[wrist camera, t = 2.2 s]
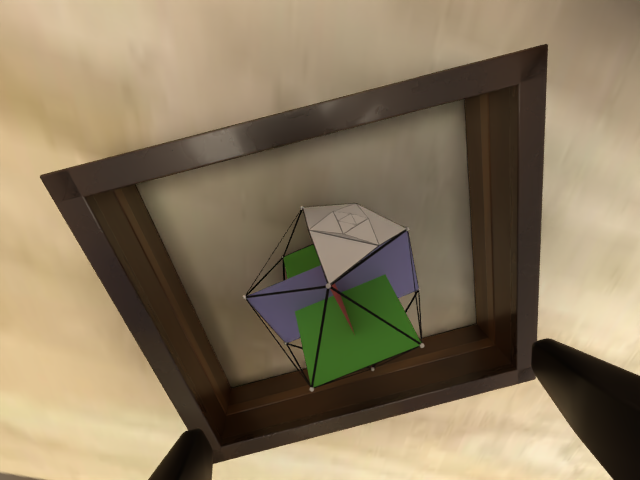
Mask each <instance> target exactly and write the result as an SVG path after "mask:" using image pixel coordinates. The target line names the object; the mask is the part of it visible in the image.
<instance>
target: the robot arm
mask: <svg viewBox="0 0 640 480" xmlns="http://www.w3.org/2000/svg"><path fill="white" fill-rule="evenodd" d="M531 366H532V370H533V372H534V374H535V375H536V377H537V378H538V380H539V381H540V383H541V384H542V386H543V387H544V389H545V390H546V391H547V393H548V394H549V396H550V397H551V399H552V400H553V402H554V403H555V405H556V406H557V408H558V409H559V410H560V412H561V413H562V415H563V416H564V418H565V419H566V421H567V422H568V423H569V425H570V426H571V428H572V429H573V430H574V432H575V433H576V434H577V436H578V437H579V438H580V439H581V441H582V442H583V443H584V444H585V446H586V447H587V448H588V449H589V450H590V452H591V453H592V454H593V455H594V456H595V458H596V459H597V460H598V461H599V463H600V464H601V465H602V466H603V467H604V469H605V470H606V471H607V472H608V473H609V475H610V476H611V477H612V478H613V480H640V376H639V375H636V374H634V373H632V372H629V371H627V370H624V369H622V368H620V367H617V366H615V365H612V364H610V363H608V362H605V361H603V360H600V359H598V358H596V357H593V356H591V355H588V354H586V353H584V352H581V351H579V350H577V349H574V348H572V347H569V346H567V345H565V344H562V343H560V342H557V341H555V340H552V339H543V340H539V341H535V342H534V343H533V344H532V356H531ZM212 467H213V450H212V447H211V445H210V443H209V441H208V439H207V438H206V436H205V434H204V432H203V431H202V429H200V428H196V429H192V430H188V431H185V432H184V433H183V434H182V435H181V436H180V438H179V439H178V440H177V442H176V443H175V444H174V446H173V447H172V448H171V450H170V451H169V452H168V454H167V455H166V456H165V458H164V459H163V460H162V462H161V463H160V464H159V466H158V467H157V469H156V470H155V471H154V473H153V474H152V475H151V477H150V478H149V479H148V480H212Z"/></svg>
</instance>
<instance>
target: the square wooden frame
mask: <svg viewBox="0 0 640 480" xmlns="http://www.w3.org/2000/svg"><path fill="white" fill-rule="evenodd" d="M547 56H548V44H544V45H540V46H536V47H532V48H528V49H524V50H520V51H517V52H513V53H509V54H505V55H501V56H497V57H493V58H490V59H486V60H482V61H478V62H474V63H470V64H467V65H463V66H459V67H455V68H451V69H447V70H443V71H440V72H436V73H432V74H428V75H424V76H420V77H416V78H413V79H409V80H405V81H401V82H397V83H393V84H389V85H386V86H382V87H378V88H374V89H370V90H366V91H363V92H359V93H355V94H351V95H347V96H343V97H339V98H336V99H332V100H328V101H324V102H320V103H316V104H312V105H309V106H305V107H301V108H297V109H293V110H289V111H285V112H282V113H278V114H274V115H270V116H266V117H262V118H259V119H255V120H251V121H247V122H243V123H239V124H235V125H232V126H228V127H224V128H220V129H216V130H212V131H208V132H205V133H201V134H197V135H193V136H189V137H185V138H181V139H178V140H174V141H170V142H166V143H162V144H158V145H155V146H151V147H147V148H143V149H139V150H135V151H131V152H128V153H124V154H120V155H116V156H112V157H108V158H104V159H101V160H97V161H93V162H89V163H85V164H81V165H77V166H74V167H70V168H66V169H62V170H58V171H54V172H51V173H47V174H43V175H41V176H40V178H41V180H42V182H43V183H44V185H45V187H46V188H47V190H48V192H49V194H50V195H51V197H52V199H53V200H54V202H55V204H56V205H57V207H58V209H59V211H60V212H61V214H62V216H63V217H64V219H65V221H66V223H67V224H68V226H69V228H70V229H71V231H72V233H73V234H74V236H75V238H76V240H77V241H78V243H79V245H80V246H81V248H82V250H83V251H84V253H85V255H86V257H87V258H88V260H89V262H90V263H91V265H92V267H93V269H94V270H95V272H96V274H97V275H98V277H99V279H100V280H101V282H102V284H103V286H104V287H105V289H106V291H107V292H108V294H109V296H110V297H111V299H112V301H113V303H114V304H115V306H116V308H117V309H118V311H119V313H120V315H121V316H122V318H123V320H124V321H125V323H126V325H127V326H128V328H129V330H130V332H131V333H132V335H133V337H134V338H135V340H136V342H137V344H138V345H139V347H140V349H141V350H142V352H143V354H144V355H145V357H146V359H147V361H148V362H149V364H150V366H151V367H152V369H153V371H154V372H155V374H156V376H157V378H158V379H159V381H160V383H161V384H162V386H163V388H164V390H165V391H166V393H167V395H168V396H169V398H170V400H171V401H172V403H173V405H174V407H175V408H176V410H177V412H178V413H179V415H180V417H181V418H182V420H183V422H184V424H185V425H186V427H187V429H188V430H192V429H196V428H200V429H202V431H203V432H204V434H205V436H206V438H207V439H208V441H209V443H210V445H211V447H212V450H213V464H214V463H218V462H222V461H226V460H230V459H234V458H237V457H241V456H245V455H249V454H253V453H256V452H260V451H264V450H268V449H272V448H275V447H279V446H283V445H287V444H291V443H294V442H298V441H302V440H306V439H310V438H314V437H317V436H321V435H325V434H329V433H333V432H336V431H340V430H344V429H348V428H352V427H355V426H359V425H363V424H367V423H371V422H374V421H378V420H382V419H386V418H390V417H393V416H397V415H401V414H405V413H409V412H413V411H416V410H420V409H424V408H428V407H432V406H435V405H439V404H443V403H447V402H451V401H454V400H458V399H462V398H466V397H470V396H473V395H477V394H481V393H485V392H489V391H493V390H496V389H500V388H504V387H508V386H512V385H515V384H519V383H523V382H527V381H531V380H534V379H536V375H535V374H534V372H533V370H532V366H531V356H532V344H533V343H534V342H535V341H537V325H538V298H539V271H540V244H541V218H542V191H543V164H544V137H545V110H546V83H547ZM461 99H465V116H466V134H467V152H468V170H469V189H470V207H471V225H472V244H473V262H474V280H475V298H476V317H477V324H475V325H471V326H468V327H464V328H460V329H456V330H452V331H448V332H445V333H441V334H437V335H433V336H429V337H426V338H422V343H423V344H424V348H421V347H418V348H416V349H414V350H412V351H410V352H408V353H405V354H403V353H402V354H403V355H401V354H400V355H401V356H399V355H397V356H399V357H397V356H394V357H392V358H389V359H387V360H384V361H382V362H379V363H377V364H376V365H375V367H376V366H378V365H380V364H382V365H380V366H378V367H376V368H374V371H372V370H369V371H365V370H368V369H369V368H364V369H362V370H359V371H357V372H354V373H352V374H349V375H346V376H344V377H347V376H350V375H353V374H356V373H359V372H362V371H365V372H362V373H359V374H356V375H353V376H350V377H347V378H344V377H341V378H344V379H341V378H339V379H341V380H338V379H336V380H338V381H335V380H334V381H335V382H332V383H329V384H326V385H323V386H320V387H317V388H314V391H312V392H311V391H310V390H309V389H310V386H309V385H308V383H307V382H306V381H305V379H304V378H305V377H304V378H303V377H302V375H303V373H302V371H301V370H300V372H301V374H302V375H301V374H300V373H299V371H296V372H292V373H288V374H284V375H280V376H277V377H273V378H269V379H265V380H261V381H258V382H254V383H250V384H246V385H242V386H238V387H235V388H231V387H230V385H229V383H228V381H227V378H226V376H225V374H224V372H223V370H222V368H221V366H220V364H219V362H218V359H217V357H216V355H215V353H214V351H213V349H212V347H211V345H210V343H209V340H208V338H207V336H206V334H205V332H204V330H203V328H202V326H201V323H200V321H199V319H198V317H197V315H196V313H195V311H194V309H193V307H192V304H191V302H190V300H189V298H188V296H187V294H186V292H185V290H184V288H183V285H182V283H181V281H180V279H179V277H178V275H177V273H176V271H175V269H174V266H173V264H172V262H171V260H170V258H169V256H168V254H167V252H166V250H165V247H164V245H163V243H162V241H161V239H160V237H159V235H158V233H157V231H156V228H155V226H154V224H153V222H152V220H151V218H150V216H149V214H148V212H147V209H146V207H145V205H144V203H143V201H142V199H141V197H140V195H139V193H138V190H137V188H136V186H135V184H138V183H142V182H146V181H150V180H154V179H157V178H161V177H165V176H169V175H173V174H177V173H181V172H184V171H188V170H192V169H196V168H200V167H204V166H207V165H211V164H215V163H219V162H223V161H227V160H231V159H234V158H238V157H242V156H246V155H250V154H254V153H258V152H261V151H265V150H269V149H273V148H277V147H281V146H284V145H288V144H292V143H296V142H300V141H304V140H308V139H311V138H315V137H319V136H323V135H327V134H331V133H334V132H338V131H342V130H346V129H350V128H354V127H358V126H361V125H365V124H369V123H373V122H377V121H381V120H384V119H388V118H392V117H396V116H400V115H404V114H408V113H411V112H415V111H419V110H423V109H427V108H431V107H434V106H438V105H442V104H446V103H450V102H454V101H458V100H461ZM419 340H420V341H421V339H419ZM395 357H397V358H395ZM393 358H395V359H393ZM391 359H393V360H391ZM389 360H391V361H389ZM387 361H389V362H387ZM385 362H387V363H385ZM383 363H385V364H383ZM373 366H374V365H373ZM369 367H371V366H369ZM303 372H304V374H305V376H306V377H307V379H308V381H309V383H310V379H309V375H308V370H307V369H303ZM303 376H304V375H303Z"/></svg>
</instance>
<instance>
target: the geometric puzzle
mask: <svg viewBox="0 0 640 480" xmlns="http://www.w3.org/2000/svg"><path fill="white" fill-rule="evenodd" d="M300 209H301V210H300V214H299V213H298V214H299V216H298V215H297V216H298V219H297V221H296V224H295V227H296V225H297V222H298V220H299V217H300V215H301V212H302V210H303V213H304V216H305V220H306V224H307V228H308V231H309V234H310V237H311V240H312V242H313V244H312V245H310V246H307V247H305V248H303V249H300V250H298V251H295V252H293V253H291V254H288V255H286V256H284V255H285V253H286V250H287V248H288V245H289V243H290V240H291V238H292V235H293V233H294V230H295V227H294V229H293V232H292V234H291V237H290V240H289V242H288V245H287V247H286V250H285V252H284V255H283V256H282V257H281V259H280V260H279V261H278V262H277V263H276V264H275V266H276V265H277V264H278V263H279V262H280V261H281V260H282V259H283V281H282V282H279V283H277V284H274V285H272V286H270V287H267V288H265V289H262V290H260V291H258V292H255V293H253V294H250V295H248V294H249V293H250V292H251V291H252V290H253V289H254V288H255V287H256V286H257V285H258V284H259V283H260V282H261V281H262V280H263V279H264V278H265V277H266V276H267V275H268V274H269V272H270V271H271V270H272V269H273V268H274V267H275V266H274V267H273V268H272V269H271V270H270V271H269V272H268V273H267V274H266V275H265V276H264V277H263V278H262V279H261V280H260V281H259V282H258V283H257V284H256V285H255V286H254V287H253V288H252V289H251V290H250V289H249V290H250V291H249V292H247V294H246V295H243V299H246V300H247V301H248V303H249V304H250V306H251V307H252V306H253V307H252V308H253V310H254V309H255V310H256V311H257V312H258V313H259V314H260V315H261V316H262V318H263V319H264V320H265V321H266V322H267V323H268V324H269V325H270V326H271V328H272V329H273V330H274V331H275V332H276V333H277V334H278V335H279V336H280V338H281V339H282V340H283V341H284V344H285V345H287V346H288V345H291V346H294V347H298V348H301V349H303V352H304V356H305V361H306V365H307V370H308V375H309V379H310V383H309V381H308V379H307V377H306V376H305V374H304V372H303V370H302V369H301V367H300V365H299V363H298V362H297V360H296V358H295V356H294V355H293V353H292V351H291V349H290V348H289V346H288V348H289V350H290V352H291V354H292V355H293V357H294V359H295V361H296V363H297V364H298V366H299V368H300V370H301V371H302V373H303V375H304V376H303V375H302V374H301V372H300V371H299V370H298V368H297V367H296V365H295V364H294V363H293V361H292V360H291V359H290V357H289V356H288V355H287V353H286V352H285V350H284V349H283V348H282V346H281V345H280V344H279V342H278V341H277V340H276V338H275V337H274V335H273V334H272V333H271V331H270V330H269V329H268V327H267V326H266V325H265V323H264V322H263V320H262V319H261V318H260V316H259V315H258V314H257V312H256V311H255V310H254V311H255V312H256V314H257V315H258V317H259V318H260V319H261V321H262V322H263V323H264V325H265V326H266V327H267V329H268V330H269V332H270V333H271V334H272V336H273V337H274V338H275V340H276V341H277V342H278V344H279V345H280V347H281V348H282V349H283V351H284V352H285V353H286V355H287V356H288V358H289V359H290V360H291V362H292V363H293V364H294V366H295V367H296V368H297V370H298V371H299V373H300V374H301V375H302V377H303V378H304V377H305V378H304V379H305V381H306V382H307V383H308V385H309V386H310V389H309V390H310V391H311V392H312V391H314V388H317V387H320V386H323V385H326V384H329V383H332V382H335V381H338V380H341V379H344V378H347V377H350V376H353V375H356V374H359V373H362V372H365V371H369V370H372V371H374V368H376V367H378V366H380V365H382V364H380V365H378V366H376V367H375V365H376V364H377V363H379V362H382V361H384V360H387V359H389V358H392V357H394V356H397V355H399V356H401V355H403V354H405V353H408V352H410V351H412V350H414V349H416V348H418V347H421V348H424V344H423V343H422V329H420V328H421V313H420V321H419V313H418V305H417V297H416V295H417V293H419V291H420V290H421V288H419V287H418V281H417V276H416V271H415V265H414V260H413V254H412V249H411V244H410V238H409V233H408V231H409V230H410V228H409V227H406V228H405V227H403V226H401V225H399V224H397V223H395V222H393V221H391V220H389V219H387V218H385V217H383V216H381V215H379V214H377V213H375V212H373V211H371V210H369V209H367V208H365V207H363V206H361V205H359V204H357V203H350V204H338V205H325V206H313V207H304V206H301V207H300ZM297 216H296V217H297ZM295 219H296V218H295ZM295 219H294V220H295ZM293 222H294V221H293ZM293 222H292V223H293ZM291 225H292V224H291ZM289 228H290V227H289ZM287 231H288V230H287ZM286 233H287V232H286ZM286 233H285V234H286ZM284 236H285V235H284ZM284 236H283V237H284ZM282 239H283V238H282ZM282 239H281V240H282ZM280 242H281V241H280ZM278 245H279V244H278ZM277 247H278V246H277ZM277 247H276V248H277ZM275 250H276V249H275ZM275 250H274V251H275ZM273 253H274V252H273ZM273 253H272V254H273ZM271 256H272V255H271ZM271 256H270V257H271ZM269 259H270V258H269ZM267 262H268V261H267ZM266 264H267V263H266ZM266 264H265V265H266ZM264 267H265V266H264ZM264 267H263V268H264ZM285 269H286V273H287V278H288V279H286V280H285ZM262 270H263V269H262ZM262 270H261V271H262ZM260 273H261V272H260ZM258 276H259V275H258ZM256 279H257V278H256ZM255 281H256V280H255ZM255 281H254V282H255ZM253 284H254V283H253ZM253 284H252V285H253ZM251 287H252V286H251ZM251 287H250V288H251ZM416 291H417V292H416ZM412 292H415V295H414V297H413V298H412V300H411V302H410V304H409V305H408V307H407V309H406V311H404V309H403V307H402V305H401V303H400V301H399V299H398V298H400V297H402V296H405V295H407V294H410V293H412ZM247 295H248V296H247ZM415 297H416V305H417V313H418V321H419V329H420V336H421V341H420V340H419V338H418V336H417V334H416V332H415V330H414V328H413V326H412V324H411V322H410V320H409V318H408V317H407V315H406V312H407V310H408V309H409V307H410V305H411V303H412V302H413V300H414V298H415ZM419 311H420V297H419ZM299 338H301V342H302V347H303V348H302V347H299V346H296V345H292V344H289V342H291V341H294V340H296V339H299ZM402 353H403V354H402ZM400 354H401V355H400ZM399 356H397V357H399ZM397 357H395V358H397ZM395 358H393V359H395ZM393 359H391V360H393ZM391 360H389V361H391ZM389 361H387V362H389ZM387 362H385V363H387ZM385 363H383V364H385ZM373 365H374V366H373ZM369 366H371V367H369ZM364 368H369V369H368V370H365V371H362V372H359V373H356V374H353V375H350V376H347V377H344V376H346V375H349V374H352V373H354V372H357V371H359V370H362V369H364ZM341 377H344V378H341ZM339 378H341V379H339ZM336 379H338V380H336ZM334 380H335V381H334Z"/></svg>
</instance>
